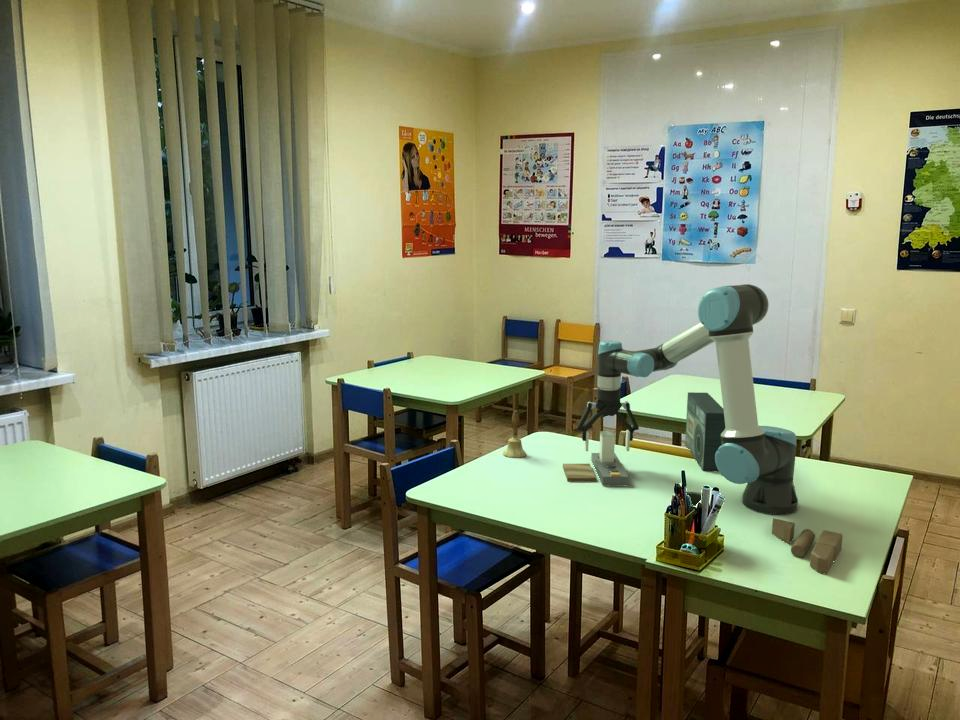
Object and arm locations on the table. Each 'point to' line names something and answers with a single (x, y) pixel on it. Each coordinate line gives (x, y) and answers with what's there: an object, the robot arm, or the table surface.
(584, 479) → the walnut board
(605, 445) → the block
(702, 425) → the cassette player
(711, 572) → the table surface
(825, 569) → the wooden block set
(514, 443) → the hand bell
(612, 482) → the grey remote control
